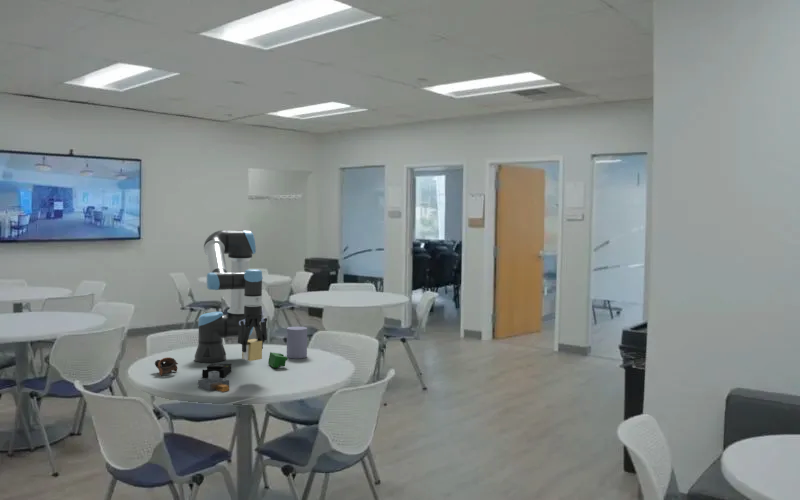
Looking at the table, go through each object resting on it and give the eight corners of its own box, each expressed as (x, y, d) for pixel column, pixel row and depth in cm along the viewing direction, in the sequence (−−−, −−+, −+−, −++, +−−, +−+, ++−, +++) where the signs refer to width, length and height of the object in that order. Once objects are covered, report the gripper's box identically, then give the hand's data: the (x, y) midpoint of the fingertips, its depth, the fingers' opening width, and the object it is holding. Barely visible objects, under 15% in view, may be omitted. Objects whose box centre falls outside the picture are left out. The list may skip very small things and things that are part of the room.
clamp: (283, 375, 304) (288, 359, 302) (271, 374, 302) (276, 358, 299) (279, 361, 315) (284, 346, 312) (267, 360, 312) (272, 344, 309)
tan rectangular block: (242, 358, 277) (242, 340, 276) (253, 356, 281) (254, 338, 281) (250, 361, 273) (250, 342, 272) (261, 359, 277) (262, 340, 277)
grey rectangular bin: (198, 387, 266) (198, 371, 266) (217, 383, 273) (217, 368, 272) (216, 393, 257) (216, 377, 257) (235, 389, 264) (235, 373, 263)
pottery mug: (183, 372, 292) (181, 358, 287) (170, 385, 284) (168, 371, 280) (161, 364, 295) (159, 351, 291) (148, 377, 287) (145, 363, 283)
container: (310, 357, 328) (310, 328, 327) (291, 359, 322) (292, 330, 321) (301, 354, 336) (301, 326, 336) (283, 356, 330) (283, 327, 330)
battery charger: (210, 371, 295) (210, 363, 295) (231, 372, 295) (231, 363, 295) (202, 378, 282) (202, 369, 282) (223, 379, 282) (223, 370, 282)
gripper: (239, 308, 266) (238, 363, 267) (276, 304, 280) (275, 356, 281) (228, 306, 271) (228, 360, 272) (265, 302, 285) (265, 353, 286)
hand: (252, 358), depth 277 cm, fingers closed on tan rectangular block, 6 cm apart
